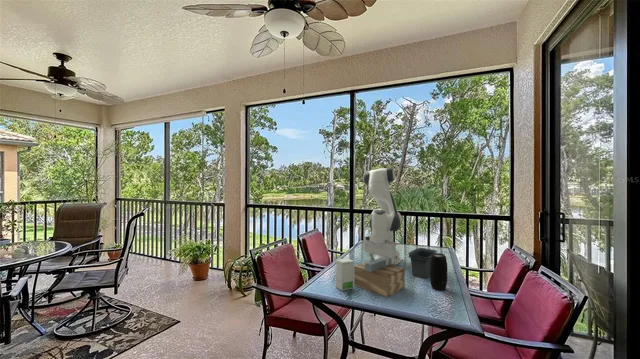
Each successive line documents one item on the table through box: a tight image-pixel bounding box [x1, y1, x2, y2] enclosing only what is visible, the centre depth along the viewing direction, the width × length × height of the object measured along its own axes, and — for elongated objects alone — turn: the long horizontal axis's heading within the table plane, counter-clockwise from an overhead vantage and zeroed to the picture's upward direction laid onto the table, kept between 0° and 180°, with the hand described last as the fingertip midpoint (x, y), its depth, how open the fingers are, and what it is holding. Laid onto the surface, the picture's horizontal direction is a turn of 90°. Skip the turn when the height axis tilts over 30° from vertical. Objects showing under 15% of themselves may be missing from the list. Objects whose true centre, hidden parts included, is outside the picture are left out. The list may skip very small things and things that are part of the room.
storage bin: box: [408, 247, 439, 279], centre depth 176 cm, size 21×16×14 cm
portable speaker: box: [429, 252, 448, 291], centre depth 152 cm, size 8×9×19 cm
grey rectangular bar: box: [365, 257, 392, 272], centre depth 154 cm, size 20×4×4 cm, turn 133°
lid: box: [354, 259, 406, 278], centre depth 154 cm, size 18×22×1 cm
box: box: [353, 268, 406, 298], centre depth 154 cm, size 18×22×10 cm
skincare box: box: [335, 258, 355, 291], centre depth 152 cm, size 8×7×16 cm
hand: (379, 262), depth 154 cm, fingers open, 8 cm apart
